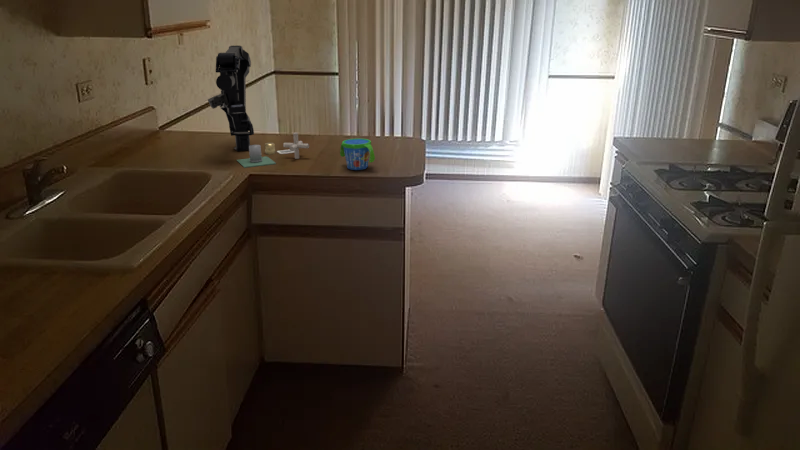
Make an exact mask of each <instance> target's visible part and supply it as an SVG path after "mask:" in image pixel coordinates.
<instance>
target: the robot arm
mask: <svg viewBox="0 0 800 450" xmlns="http://www.w3.org/2000/svg"><path fill="white" fill-rule="evenodd" d="M243 48H244V47H243V46H242V45H229V46H228V49H227V50H226V51H225V52H218V53H217V55H216V56H215V57H216V58H215V73H219V75H218V76H217V77H216V79H215V84H216V86H217V88H218V89H219V90H220V93H219V94H216V95H214V96H211V97H209V98H208V99H207V102H208V103H209V106H210V107H211V108H212V109H214V110H215V109H216V108H218V107H219V108H220V110H222V111H224V113H225V116H226V118H227V121H228V126H229V127H228V128H229V133H230V136H231V137H235V138H234V139H235V146H234V147H233V149H234V150H235V151H237V152H245V151H249V146H250V145H251V140H250V136H253V135H255V131H254V125H253V123H252V120H251V119H250V116H249V115H248V113H247V110H246V109H247V108H246V107H247V105H246V101H247V100H246V96H247V95H246V94H247V93H246V78H247V76H248V75H249V73H250V70H251V69H250V68H251V65H252V62H251V61H252V59H251V57H250V54H249V53H248V52H247V51H246V50H245V49H243Z"/></svg>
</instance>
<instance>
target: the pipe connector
mask: <svg viewBox="0 0 800 450" xmlns="http://www.w3.org/2000/svg"><path fill="white" fill-rule="evenodd" d="M292 137H293V142H283V148H289V149H290V150H291V151H293V150H294V160H295V159H296V160H297V159H300V149H309V148H310V144H309V143H304V142H303V141H302V140H299V132H293V133H292ZM289 149H288V150H289Z"/></svg>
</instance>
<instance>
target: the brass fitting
mask: <svg viewBox="0 0 800 450" xmlns="http://www.w3.org/2000/svg"><path fill="white" fill-rule="evenodd" d="M264 153H265V155H269V156H270V155H275V154H276V144H275V142H266V143H264Z"/></svg>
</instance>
